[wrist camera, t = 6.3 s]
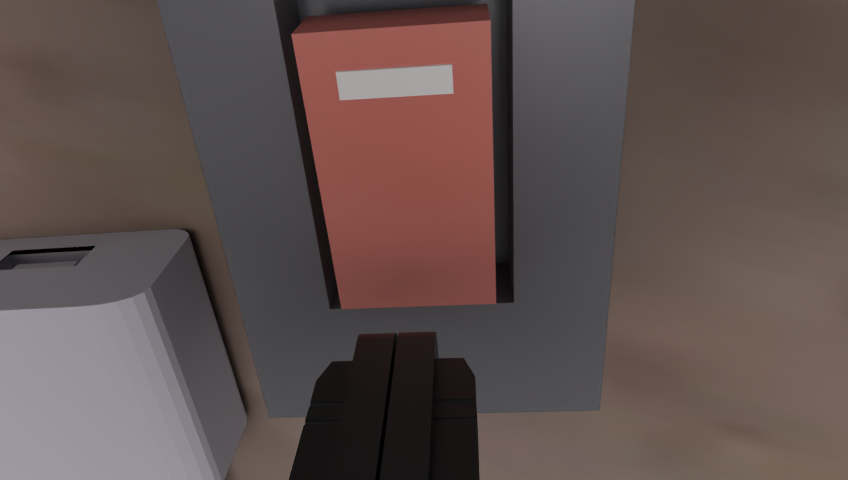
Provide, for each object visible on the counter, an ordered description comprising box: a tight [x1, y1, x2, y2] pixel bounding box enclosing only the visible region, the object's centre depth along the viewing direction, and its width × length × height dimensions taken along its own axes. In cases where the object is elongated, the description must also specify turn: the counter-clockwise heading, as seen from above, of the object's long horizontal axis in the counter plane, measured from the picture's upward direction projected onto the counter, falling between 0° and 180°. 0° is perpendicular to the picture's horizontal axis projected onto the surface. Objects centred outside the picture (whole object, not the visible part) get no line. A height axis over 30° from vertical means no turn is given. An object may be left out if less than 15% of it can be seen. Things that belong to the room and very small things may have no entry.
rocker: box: [291, 4, 496, 309], centre depth 15 cm, size 7×4×2 cm, turn 4°
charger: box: [0, 229, 247, 480], centre depth 24 cm, size 5×9×15 cm
